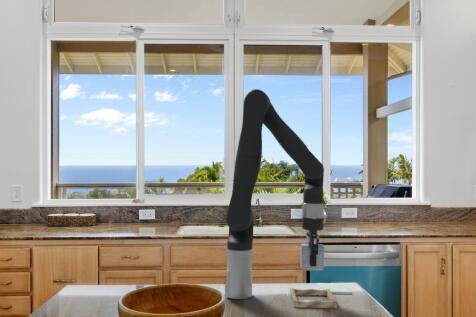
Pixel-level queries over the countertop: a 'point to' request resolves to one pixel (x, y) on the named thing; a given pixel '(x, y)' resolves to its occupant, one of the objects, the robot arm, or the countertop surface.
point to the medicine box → (306, 258)
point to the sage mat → (335, 288)
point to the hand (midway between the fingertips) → (311, 264)
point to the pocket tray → (311, 303)
